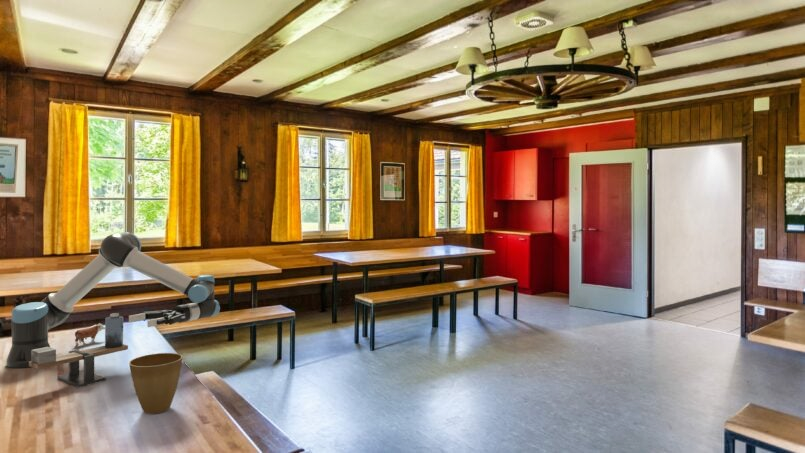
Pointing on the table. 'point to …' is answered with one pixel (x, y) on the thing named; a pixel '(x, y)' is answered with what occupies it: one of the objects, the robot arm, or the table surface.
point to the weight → (114, 331)
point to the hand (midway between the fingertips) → (138, 321)
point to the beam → (66, 356)
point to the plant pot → (156, 380)
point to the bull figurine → (88, 333)
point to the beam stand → (82, 373)
